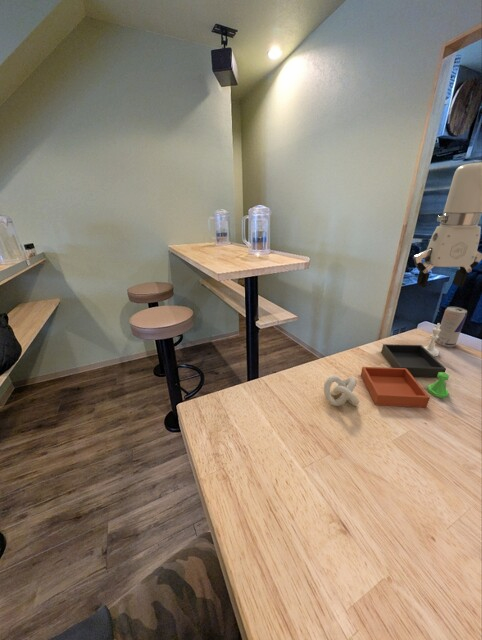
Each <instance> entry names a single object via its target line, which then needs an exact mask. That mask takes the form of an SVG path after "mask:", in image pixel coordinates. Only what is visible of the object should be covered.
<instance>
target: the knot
mask: <svg viewBox="0 0 482 640" xmlns="http://www.w3.org/2000/svg"><path fill="white" fill-rule="evenodd" d="M333 383H336V384H337V385H336V386H335V387H334V388H333V389H332V391H331V387H332V385H333ZM356 385H357V379H356V378H355V377H354V376H349V377H347V378H345V379H344V380H343V379H342V378H341V377H339V376H338V375H331V376H329V377H328V378H327V379H325V382H324V385H323V394H324V397H325V399H326V401H327V403H329V404H330V405H332V406H335V407H339V406H341V405H344V404H345V403H346V402H347V401H348V402H349V403H350V404H351V405H352V406H354V407H357V406H358V405H359V403H360V402H359V399H358V398H357V396H356V395H355V393H353V391H354V389H355V387H356ZM331 393H332V394H331ZM340 393H341V395H340V397H339V398H337V399H335V398H334V397H333V396H338V395H339V394H340ZM332 395H333V396H332Z"/></svg>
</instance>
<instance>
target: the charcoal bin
mask: <svg viewBox="0 0 482 640" xmlns="http://www.w3.org/2000/svg"><path fill="white" fill-rule="evenodd" d="M423 346H424V345H422V344H388V343H387V344H386V343H383V344H382V346H381V351H380V353H381V354H382V356H383V357H384V359H386V361H387V363H388V364H389V365H390V368H407V370H408V371H409V372H410V373H411V375H412V376H413V377H414V378H434V379H436V378H437V379H439V378H438V377H437V375H438V372H445V373H446V370H447V368H446V367H445V366H444V365H443V364H442V363H441V362H440V361H439V360H438V359H437V358H436V357H435V356H432V355H431V354H430V353H429V352H428V351H427V350H426V349H425V348H424V347H423Z"/></svg>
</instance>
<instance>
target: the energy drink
mask: <svg viewBox="0 0 482 640" xmlns="http://www.w3.org/2000/svg"><path fill="white" fill-rule="evenodd" d="M467 316H468V310H467V309H465V308H463V307H460V306H459V307H458V306H448V307H446V308H445V310H444V313H443V316H442V319H441V322H440V325H441V326H440V327H439V329H440V330H441V331H440V332H439V333H438V335H437V336H439V338H436V340H435V343H437V345H440V346H442V347H446V348H452V347H455V346H456V345H457V342H458V341H459V337H460V334H461V331H462V330H463V326H464V324H465V321H466V319H467Z"/></svg>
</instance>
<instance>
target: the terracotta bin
mask: <svg viewBox="0 0 482 640" xmlns="http://www.w3.org/2000/svg"><path fill="white" fill-rule="evenodd" d="M360 377H361V379H362V381H363V383H364V385H365V387H366V389H367V391H368V393H369V395H370V397H371V399H372V401H373V403H374V404H375V406H390V407H408V408H427V407H428V405H429V401H430V399H431V397H430V396H429V395H428V393H427V392H426V391H425V390H424V388H423V387H422V386H421V384H420V383H419V382H418V381H417V379H416V377H413V376H412V375H411V373H410V372H409V371H408V370H407V368H392V367H385V366H384V367H381V366H380V367H379V366H362V367H361V371H360Z"/></svg>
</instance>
